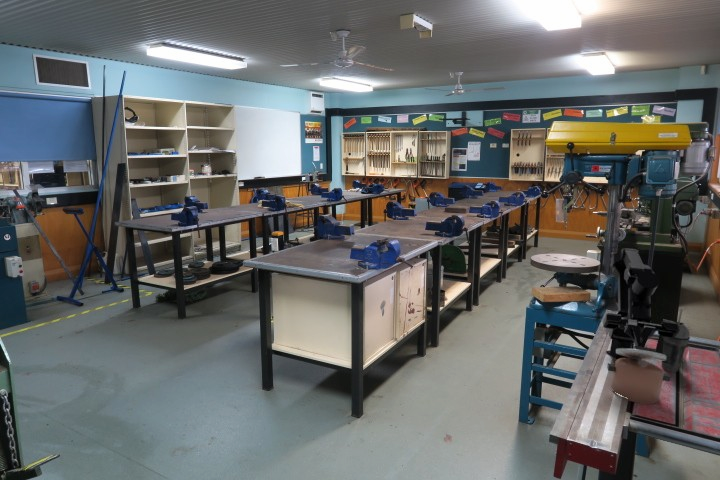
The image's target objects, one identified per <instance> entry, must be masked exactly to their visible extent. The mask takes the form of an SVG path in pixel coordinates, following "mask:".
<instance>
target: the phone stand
mask: <svg viewBox="0 0 720 480" xmlns="http://www.w3.org/2000/svg"><path fill="white" fill-rule="evenodd" d="M662 321H670V322H677V321H676V320H672V319H667V318H663V319H662ZM662 321H661V322H662ZM680 323H681V324H683V325H685V323H684V322H680ZM663 341H664V339H663V337H661V336H660V335H659V334H658V339H657V344H656V347H655V349H656V350H655V352H657V353H661V354H662V353H663Z"/></svg>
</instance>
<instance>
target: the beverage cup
mask: <svg viewBox="0 0 720 480" xmlns="http://www.w3.org/2000/svg"><path fill="white" fill-rule="evenodd" d="M682 314H683V308H680V310H679V316H678V320H677V321H676V323H677V324H678V325H679V332H678V333H677V335H676V336H675V337H674V338H668V337H663V339H664V341H663V353H662V354H664V355H666V360H665V361H661V369H662V370H665V371H668V372H674V373H675V372H679V368H680V367H681V363H682V360H683V358H684V353H685V349H686V348H687V345H688V344H689V341H690V340H691V339H690V331H689V329H688V327H687V326H686V325H685V324H684V325H683V324H681V323H682V322H681V319H682Z"/></svg>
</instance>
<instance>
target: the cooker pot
mask: <svg viewBox="0 0 720 480" xmlns="http://www.w3.org/2000/svg"><path fill="white" fill-rule="evenodd" d="M606 367H607V368H606V369H607V371H608V372H613V375H612V381H611V387H612V388H611V390H612V389H613V390H614V391H615V392H616V393H618V394H620V395H622V396H624V397H627V398H628V400H627V401H628V402H633V403H634V404H635V403H636V404H641V405H654V404H657V403H658V402H659V401H660V396H661V390H662V386H663V381H665V382H670V383H671V379H672V376H671V375H670V373H667V372H664V369H663V368H662V367H661V368H660V367H659V366H658V365H656V364H653V363H652V362H649V361H648V360H643V359H637V358H631V357H629V358H620V359H617V358H616V360H615V363H607V366H606ZM613 390H612V391H613ZM616 393H615V394H616Z"/></svg>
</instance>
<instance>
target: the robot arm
mask: <svg viewBox="0 0 720 480" xmlns="http://www.w3.org/2000/svg"><path fill="white" fill-rule="evenodd" d="M610 268H612V269H611V270H612V271H611V272H612V274H613V276H614V278H616V279H617V305H618V307H617V308H618V309H617V313H613V312H608V313H606V314H605V316H604V318H603V321H602V322H603V324H602V327H603V328H604V329H608V336H609V338H610V340H611V341H610V342H611V343H610V348H609V350H606V351H605V353H606V354H608V355H610V356H612V357H613V356H614V358H615V359H616V360H617V359H620V358H629V357H626V356H622V355H619V354H616V349H618V348H629V349H634V346H640V347H646V344H647V341H648V340H649V338H652V337H653V336H654V335H655V333H656V332H657V334H658V336H659V335H660V336H661V337H668V338H674V337H675V336H676V335H677V333H678V332H679V325H678V324H677V323H676V322H677V321H676V322H670V321H661V322H660V323H652V320H653V319H652V315H651V314H652V313H651V312H652V311H651V309H652V303H651V296H653V294H654V293H655V291H656V289H657V288H658V286H659V285H660V282H661V281H660V278H659V277H658V275H656V274H655V272H654V271H653V269H652V267H650V265H647V264H644V263H643V261H642V258H641V255H640V250H638V249H636V248H628V247H627V248H622V249H621V250H620V251H618V252H616V253H614V254H613V255H612V257H611V259H610Z"/></svg>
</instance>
